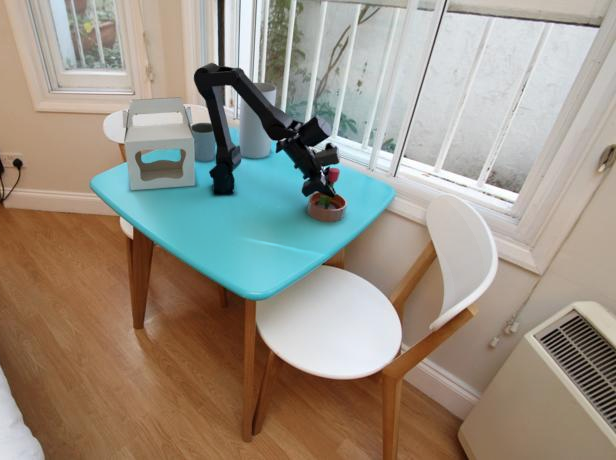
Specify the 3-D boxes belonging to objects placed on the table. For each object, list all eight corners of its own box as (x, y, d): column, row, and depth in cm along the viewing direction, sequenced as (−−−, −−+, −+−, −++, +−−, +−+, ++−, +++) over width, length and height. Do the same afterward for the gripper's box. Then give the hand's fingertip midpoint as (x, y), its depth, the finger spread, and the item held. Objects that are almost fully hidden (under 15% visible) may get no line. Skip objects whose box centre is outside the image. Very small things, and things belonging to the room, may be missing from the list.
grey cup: (200, 149, 152) (200, 120, 145) (222, 155, 147) (222, 125, 140) (185, 158, 145) (184, 128, 138) (207, 165, 140) (207, 134, 133)
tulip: (335, 208, 114) (345, 167, 106) (334, 218, 110) (344, 176, 102) (316, 205, 116) (325, 164, 107) (314, 215, 112) (323, 172, 103)
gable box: (192, 168, 139) (189, 90, 122) (195, 186, 128) (193, 103, 112) (131, 172, 137) (120, 94, 120) (130, 190, 126) (118, 107, 110)
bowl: (313, 224, 109) (316, 211, 106) (302, 204, 117) (304, 192, 114) (349, 222, 109) (352, 209, 106) (335, 203, 118) (338, 190, 115)
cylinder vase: (272, 159, 143) (279, 92, 129) (239, 159, 144) (242, 93, 129) (267, 145, 153) (273, 82, 139) (236, 146, 154) (239, 82, 139)
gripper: (321, 152, 94) (358, 197, 97) (329, 125, 107) (360, 166, 111) (286, 175, 101) (321, 217, 104) (297, 148, 114) (328, 185, 118)
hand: (334, 195), depth 109 cm, fingers closed on tulip
